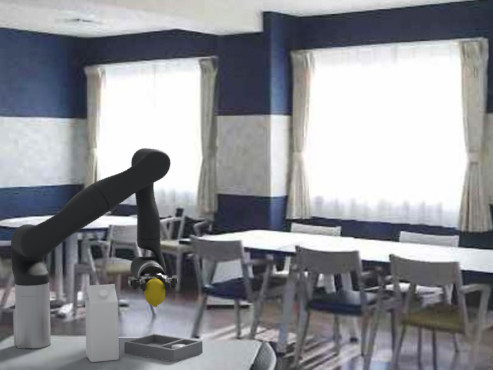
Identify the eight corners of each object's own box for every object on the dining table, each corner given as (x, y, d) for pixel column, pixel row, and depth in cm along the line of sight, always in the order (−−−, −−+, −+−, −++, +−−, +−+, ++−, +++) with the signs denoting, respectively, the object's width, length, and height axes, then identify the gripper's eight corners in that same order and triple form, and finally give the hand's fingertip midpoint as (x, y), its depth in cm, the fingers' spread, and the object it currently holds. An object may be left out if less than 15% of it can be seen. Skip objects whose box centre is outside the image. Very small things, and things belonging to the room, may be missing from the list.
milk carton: (86, 356, 216) (84, 283, 215) (113, 353, 218) (112, 281, 217) (91, 362, 209) (89, 287, 208) (119, 360, 212) (117, 285, 211)
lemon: (168, 308, 219) (167, 278, 218) (147, 310, 217) (147, 279, 216) (162, 304, 224) (161, 275, 224) (142, 306, 222) (141, 276, 222)
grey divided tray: (124, 353, 219) (124, 341, 219) (154, 344, 228) (153, 333, 228) (173, 361, 209) (173, 350, 209) (202, 352, 218) (202, 341, 218)
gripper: (125, 264, 233) (127, 273, 216) (176, 262, 235) (182, 271, 219) (126, 290, 233) (128, 301, 216) (177, 288, 236) (183, 299, 219)
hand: (155, 286), depth 218 cm, fingers closed on lemon, 5 cm apart
